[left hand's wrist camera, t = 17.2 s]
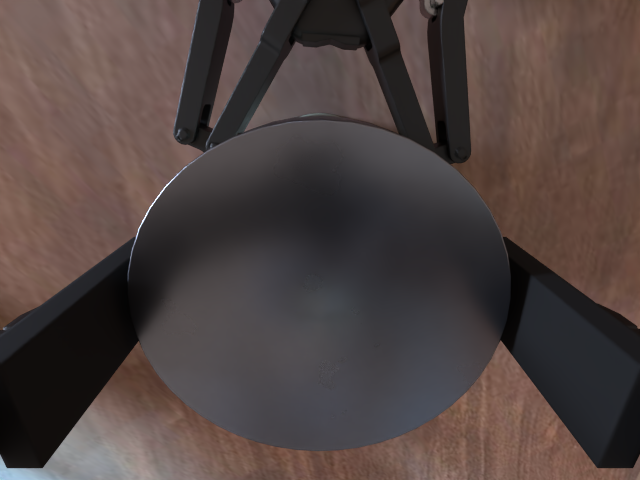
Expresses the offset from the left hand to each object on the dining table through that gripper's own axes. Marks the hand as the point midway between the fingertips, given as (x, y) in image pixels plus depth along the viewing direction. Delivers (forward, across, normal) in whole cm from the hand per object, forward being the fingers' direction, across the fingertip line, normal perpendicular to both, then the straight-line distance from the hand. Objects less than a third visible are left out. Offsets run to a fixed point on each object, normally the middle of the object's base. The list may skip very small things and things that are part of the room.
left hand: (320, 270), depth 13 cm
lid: (-3, 0, 0) cm, 3 cm away
